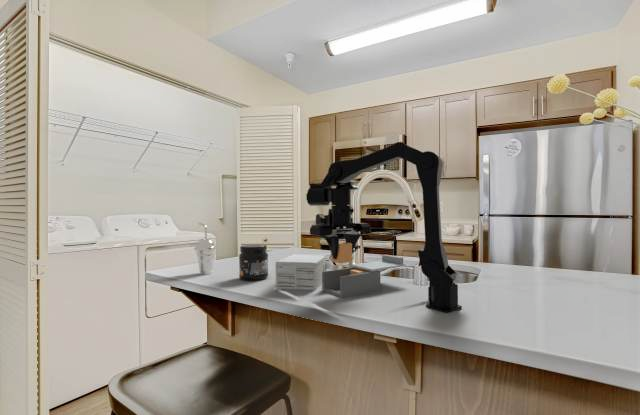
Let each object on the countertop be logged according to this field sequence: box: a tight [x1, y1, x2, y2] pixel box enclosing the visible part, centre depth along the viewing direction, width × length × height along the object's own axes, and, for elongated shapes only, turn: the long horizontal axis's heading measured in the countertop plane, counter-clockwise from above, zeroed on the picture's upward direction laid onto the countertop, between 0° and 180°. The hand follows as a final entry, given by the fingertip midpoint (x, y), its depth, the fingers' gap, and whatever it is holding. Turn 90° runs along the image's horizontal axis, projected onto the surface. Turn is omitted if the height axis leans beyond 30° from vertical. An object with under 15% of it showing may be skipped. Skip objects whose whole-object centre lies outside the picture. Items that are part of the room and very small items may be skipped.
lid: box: [351, 254, 407, 272], centre depth 107 cm, size 10×14×3 cm
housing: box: [321, 267, 382, 299], centre depth 101 cm, size 10×14×6 cm
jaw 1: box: [330, 241, 353, 264], centre depth 99 cm, size 4×4×6 cm
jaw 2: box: [350, 269, 372, 275], centre depth 103 cm, size 4×4×6 cm
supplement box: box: [275, 254, 327, 292], centre depth 111 cm, size 17×13×9 cm
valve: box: [346, 244, 361, 268], centre depth 120 cm, size 7×7×12 cm
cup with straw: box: [193, 222, 217, 275], centre depth 133 cm, size 8×9×20 cm
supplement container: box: [238, 243, 269, 282], centre depth 123 cm, size 10×10×12 cm
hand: (341, 258), depth 99 cm, fingers closed on jaw 1, 4 cm apart
